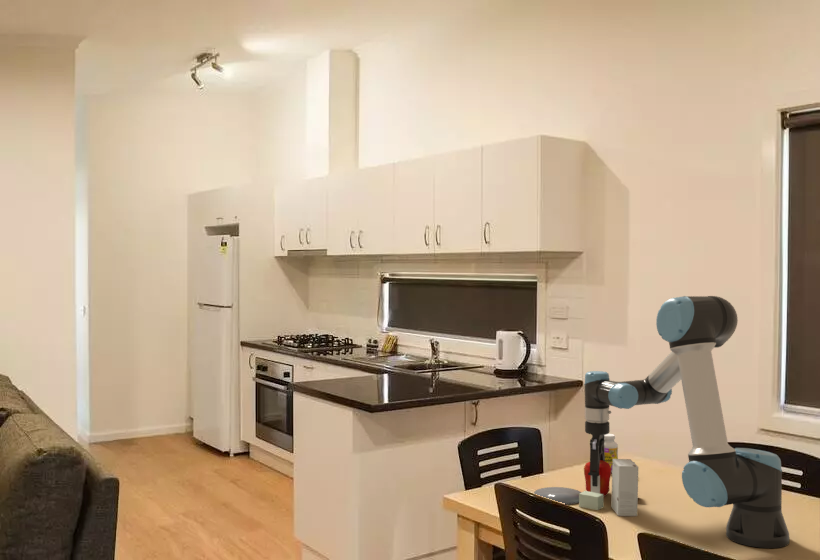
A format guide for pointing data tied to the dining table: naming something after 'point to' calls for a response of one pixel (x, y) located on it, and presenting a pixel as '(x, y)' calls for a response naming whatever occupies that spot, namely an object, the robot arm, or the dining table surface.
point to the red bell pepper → (604, 477)
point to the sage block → (591, 500)
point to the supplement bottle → (610, 449)
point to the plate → (560, 494)
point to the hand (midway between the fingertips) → (597, 492)
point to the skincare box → (624, 487)
